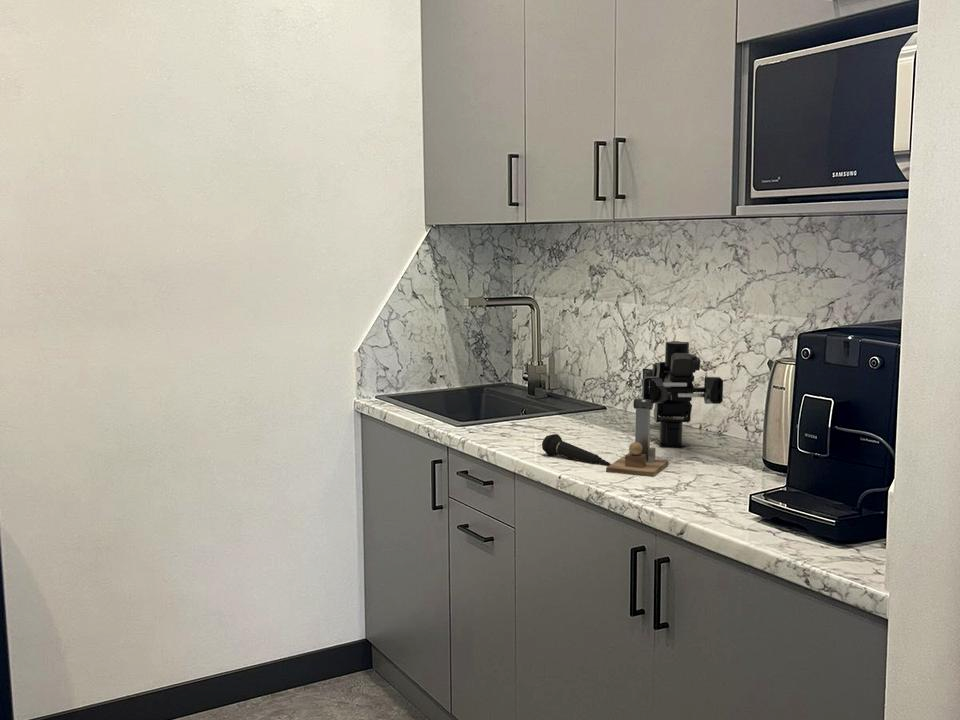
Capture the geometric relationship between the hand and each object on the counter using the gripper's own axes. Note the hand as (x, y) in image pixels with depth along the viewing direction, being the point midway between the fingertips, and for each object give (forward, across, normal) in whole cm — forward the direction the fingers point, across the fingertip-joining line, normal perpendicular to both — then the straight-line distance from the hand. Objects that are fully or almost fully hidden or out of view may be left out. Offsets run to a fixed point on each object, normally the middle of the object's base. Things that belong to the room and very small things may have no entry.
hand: (688, 396), depth 224 cm
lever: (-1, -10, +15) cm, 18 cm away
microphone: (-6, -26, +17) cm, 32 cm away
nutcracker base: (+3, -12, +16) cm, 20 cm away
